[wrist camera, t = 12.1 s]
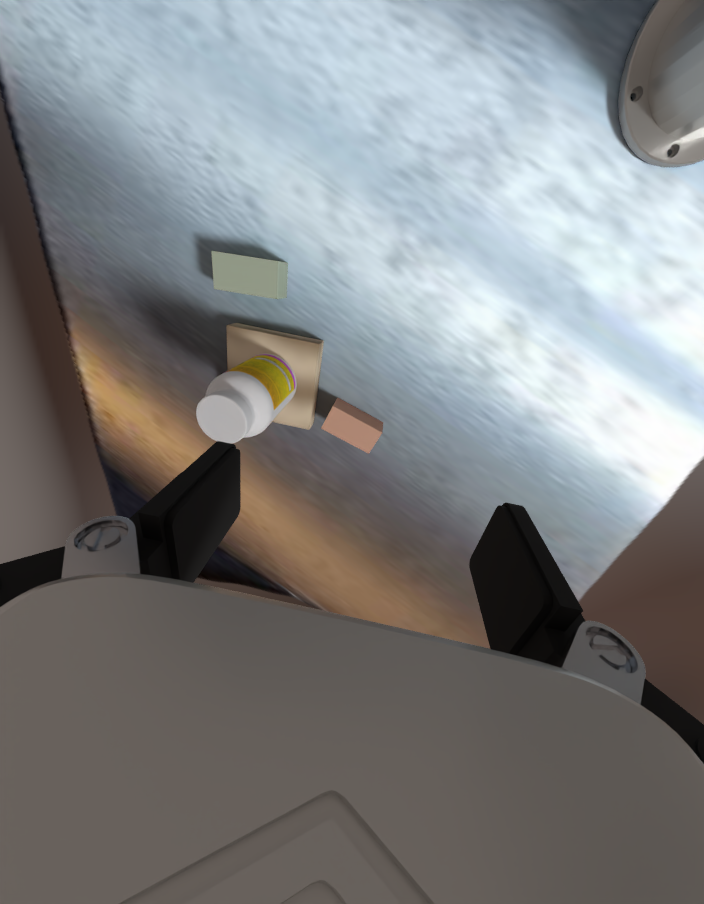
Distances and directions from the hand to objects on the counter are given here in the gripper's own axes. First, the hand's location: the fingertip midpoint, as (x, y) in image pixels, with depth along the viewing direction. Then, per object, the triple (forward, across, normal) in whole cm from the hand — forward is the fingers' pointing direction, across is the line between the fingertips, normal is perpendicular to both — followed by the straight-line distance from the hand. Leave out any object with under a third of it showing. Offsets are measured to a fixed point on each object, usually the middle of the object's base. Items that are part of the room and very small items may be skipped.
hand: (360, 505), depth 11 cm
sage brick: (+31, +16, -5) cm, 35 cm away
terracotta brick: (+31, +2, +10) cm, 32 cm away
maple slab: (+30, +13, +6) cm, 34 cm away
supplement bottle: (+28, +13, +6) cm, 31 cm away
